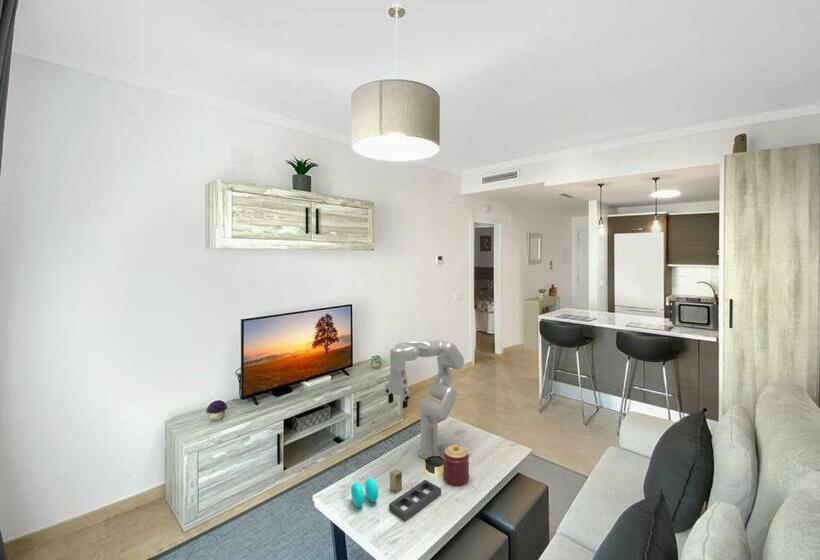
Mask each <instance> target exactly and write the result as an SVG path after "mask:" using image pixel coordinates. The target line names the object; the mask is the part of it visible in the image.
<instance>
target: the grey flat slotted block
mask: <svg viewBox="0 0 820 560" xmlns="http://www.w3.org/2000/svg"><path fill="white" fill-rule="evenodd" d="M425 490H428V491H429V492H428V493H426V492H424V491H425ZM441 495H442V488H441V487H439V486H437V485H436V484H434V483H432V482H430V481H429V480H427V479H424V480H422V481H421V482H419V483H417V484H416V485H415V486H413V487H412V488H410V489H408V490H407V491H405V493H403V494H401V495H400V496H399V497H397V498H395V499H394V500H392V501H391V502H390V503H388V510H389V511H390V512H391V513H392V514H394V515H395V516H397V517H398V518H399V519H401V520H403V522H407V521H408V520H410V519H411V518H412V517H413V516H415V515H416V514H418V513H419V512H420V511H422V510H423V509H424V508H425V507H426V506H428V505H429V504H430V503H432V502H433V501H434V500H436V499H437V498H438V497H440V496H441ZM415 497H416V498H418V500H417V501H415V500H413V498H415ZM403 505H405V506H406V507H407V508H406V509H405V510H404V509H402V506H403Z"/></svg>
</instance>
